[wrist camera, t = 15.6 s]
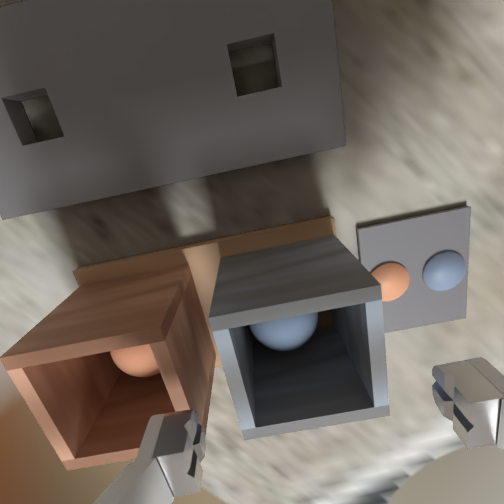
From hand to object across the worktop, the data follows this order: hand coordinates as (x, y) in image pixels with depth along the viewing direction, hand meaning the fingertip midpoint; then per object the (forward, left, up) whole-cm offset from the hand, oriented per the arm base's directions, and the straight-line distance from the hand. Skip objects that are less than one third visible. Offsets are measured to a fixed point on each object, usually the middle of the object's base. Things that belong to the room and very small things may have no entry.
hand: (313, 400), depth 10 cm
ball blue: (0, 0, -6) cm, 6 cm away
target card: (+1, +8, -8) cm, 11 cm away
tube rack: (0, -4, -8) cm, 9 cm away
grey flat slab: (-11, -4, -8) cm, 15 cm away
